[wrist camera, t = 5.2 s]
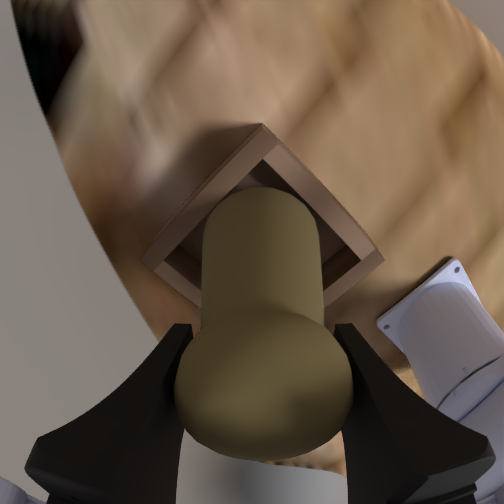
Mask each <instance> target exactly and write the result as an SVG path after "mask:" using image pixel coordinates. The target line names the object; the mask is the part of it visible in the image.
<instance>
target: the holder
mask: <svg viewBox="0 0 504 504" xmlns="http://www.w3.org/2000/svg"><path fill="white" fill-rule="evenodd" d="M251 187H262V188H274V189H277V190H280V191H284V192H287V193H290V194H291V195H292V196H294V197H295V198H297V199H298V200H299V201H301V202H302V203H303V204H305V206H306V207H307V208H308V210H309V211H310V213H311V214H312V216H313V217H314V219H315V222H316V226H317V230H318V234H319V244H320V257H321V270H322V285H323V302H324V308H326V307H327V306H328V305H330V304H331V303H332V302H333V301H335V300H336V299H337V298H339V297H340V296H341V295H343V294H344V293H345V292H346V291H348V290H349V289H350V288H351V287H353V286H354V285H355V284H357V283H358V282H359V281H360V280H362V279H363V278H364V277H365V276H366V275H368V274H369V273H370V272H371V271H373V270H374V269H375V268H376V267H377V266H379V265H380V264H381V263H382V262H384V261H385V259H384V258H383V256H382V255H381V253H380V252H379V250H378V249H377V247H376V246H375V244H374V243H373V242H372V240H371V239H370V237H369V236H368V234H367V233H366V232H365V231H364V230H363V228H362V227H361V226H360V225H359V224H358V223H357V221H356V220H355V219H354V218H353V217H352V216H351V215H350V214H349V212H348V211H347V210H346V209H345V208H344V207H343V206H342V205H341V203H340V202H339V201H338V200H337V199H336V198H335V197H334V196H333V195H332V194H331V192H330V191H329V190H328V189H327V188H326V187H325V186H324V185H323V184H322V183H321V182H320V181H319V180H318V179H317V178H316V176H315V175H314V174H313V173H312V172H311V171H310V170H309V169H308V168H307V167H306V166H305V165H304V164H303V163H302V162H301V161H300V160H299V159H298V158H297V157H296V156H295V155H294V154H293V153H292V152H291V151H290V150H289V149H288V148H287V147H286V146H285V145H284V144H283V143H282V142H281V141H280V140H279V139H278V138H277V137H276V136H275V135H274V134H273V133H272V132H271V131H270V130H269V129H268V128H267V127H266V126H265V125H264V124H263V123H262V124H261V125H260V126H259V127H257V128H256V129H255V130H254V131H253V132H252V133H251V134H250V135H249V136H248V137H247V138H246V139H245V140H244V141H243V142H242V143H241V144H240V145H239V146H238V147H237V148H236V149H235V150H234V151H233V152H232V153H231V154H230V155H229V156H228V157H227V158H226V160H225V161H224V162H223V163H222V164H221V165H220V166H219V167H218V168H217V169H216V170H215V171H214V172H213V173H212V174H211V175H210V176H209V177H208V178H207V179H206V180H205V181H204V183H203V184H202V185H201V186H200V187H199V188H198V189H197V190H196V191H195V192H194V193H193V194H192V195H191V197H190V198H189V199H188V200H187V201H186V202H185V203H184V204H183V205H182V206H181V208H180V209H179V210H178V211H177V212H176V213H175V214H174V215H173V216H172V218H171V219H170V220H169V221H168V222H167V223H166V224H165V225H164V227H163V228H162V229H161V230H160V231H159V232H158V233H157V235H156V236H155V238H154V239H153V241H152V242H151V244H150V245H149V247H148V248H147V250H146V251H145V253H144V254H143V256H142V257H141V259H140V261H141V262H142V263H144V264H145V265H146V266H147V267H148V268H150V269H151V270H152V271H153V272H155V273H156V274H157V275H158V276H160V277H161V278H162V279H163V280H165V281H166V282H167V283H168V284H170V285H171V286H172V287H173V288H175V289H176V290H177V291H178V292H180V293H181V294H182V295H184V296H185V297H186V298H187V299H189V300H190V301H191V302H193V303H194V304H195V305H197V306H198V307H199V308H201V282H202V245H203V232H204V228H205V225H206V221H207V218H208V217H209V215H210V214H211V213H212V211H213V210H214V208H215V207H216V206H217V204H218V203H220V202H221V201H223V200H224V199H225V198H227V197H228V196H230V195H231V194H233V193H235V192H238V191H242V190H245V189H248V188H251Z"/></svg>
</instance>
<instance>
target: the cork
mask: <svg viewBox="0 0 504 504" xmlns="http://www.w3.org/2000/svg"><path fill="white" fill-rule="evenodd" d="M173 389H174V400H175V406H176V409H177V412H178V415H179V418H180V420H181V422H182V424H183V425H184V427H185V429H186V431H187V432H188V433H189V434H190V435H191V436H192V437H193V438H194V439H195V440H196V441H197V442H199V443H200V444H202V445H204V446H206V447H208V448H210V449H211V450H213V451H215V452H217V453H219V454H223V455H226V456H229V457H233V458H237V459H244V460H252V461H273V460H280V459H287V458H292V457H296V456H299V455H302V454H305V453H308V452H310V451H312V450H314V449H316V448H318V447H320V446H322V445H323V444H325V443H327V442H328V441H330V440H331V439H332V438H333V437H334V436H335V435H336V434H337V433H338V432H339V431H341V429H342V427H343V425H344V422H345V420H346V418H347V416H348V414H349V411H350V409H351V407H352V404H353V395H354V384H353V378H352V372H351V368H350V365H349V361H348V358H347V355H346V354H345V352H344V351H343V349H342V348H341V346H340V345H339V343H338V342H337V341H336V339H335V338H334V337H333V336H332V334H331V333H330V332H329V331H328V329H327V328H326V327H325V321H324V302H323V285H322V270H321V257H320V244H319V234H318V230H317V226H316V222H315V219H314V217H313V216H312V214H311V213H310V211H309V210H308V208H307V207H306V206H305V204H303V203H302V202H301V201H299V200H298V199H297V198H295V197H294V196H292V195H291V194H290V193H287V192H284V191H280V190H277V189H274V188H262V187H251V188H248V189H245V190H242V191H238V192H235V193H233V194H231V195H230V196H228V197H227V198H225V199H224V200H223V201H221V202H220V203H218V204H217V206H216V207H215V208H214V210H213V211H212V213H211V214H210V215H209V217H208V218H207V221H206V225H205V228H204V232H203V245H202V282H201V330H200V332H199V333H198V334H197V335H196V336H195V337H194V338H193V340H192V341H191V342H190V343H189V345H188V346H187V348H186V349H185V351H184V353H183V354H182V356H181V359H180V363H179V367H178V371H177V375H176V379H175V383H174V387H173Z"/></svg>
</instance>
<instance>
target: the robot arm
mask: <svg viewBox="0 0 504 504" xmlns="http://www.w3.org/2000/svg"><path fill="white" fill-rule="evenodd" d="M456 267H457V269H456V270H455V268H456ZM376 324H377V326H378V328H379V329H380V330H381V331H382V332H383V333H384V334H385V335H386V336H387V337H388V338H389V339H390V340H391V341H392V342H393V343H394V344H395V345H396V346H397V347H398V348H399V349H400V350H401V351H402V352H403V353H404V354H405V355H406V357H407V359H408V361H409V363H410V366H411V368H412V370H413V373H414V375H415V377H416V380H417V382H418V384H419V387H420V389H421V392H422V394H423V396H424V399H425V400H424V399H422V398H421V397H420V396H418V395H417V394H416V393H415V392H414V391H413V390H411V389H410V388H409V387H408V386H407V385H406V384H405V383H404V382H403V381H402V380H400V379H399V377H398V376H397V375H396V374H395V373H394V372H393V371H392V370H391V369H390V368H389V367H388V366H387V365H386V364H385V363H384V362H383V360H382V359H381V358H380V357H379V356H378V355H377V354H376V352H375V351H374V350H373V349H372V348H371V346H370V345H369V344H368V343H367V341H366V340H365V339H364V338H363V336H362V335H361V334H360V333H359V331H358V330H357V329H356V328H355V326H354V325H353V324H352V323H348V324H335V330H334V335H333V337H334V338H335V339H336V341H337V342H338V343H339V345H340V346H341V348H342V349H343V351H344V352H345V354H346V355H347V358H348V361H349V365H350V368H351V372H352V378H353V384H354V395H353V404H352V407H351V409H350V411H349V414H348V416H347V418H346V420H345V422H344V425H343V427H342V429H341V432H342V436H343V442H344V449H345V459H346V470H347V485H348V504H504V333H503V332H502V331H501V329H500V328H499V327H498V325H497V324H496V323H495V321H494V320H493V319H492V317H491V316H490V315H489V314H488V312H487V311H486V310H485V308H484V307H483V306H482V304H481V302H480V300H479V298H478V296H477V294H476V292H475V290H474V288H473V286H472V284H471V282H470V280H469V278H468V276H467V274H466V272H465V271H464V269H463V267H462V265H461V263H460V262H459V260H458V259H457V258H452V259H450V260H449V261H448V262H447V263H446V264H444V265H443V266H442V267H441V268H440V269H439V270H438V271H436V272H435V273H434V274H433V275H432V276H431V277H429V278H428V279H427V280H426V281H425V282H423V283H422V284H421V285H420V286H419V287H417V288H416V289H415V290H414V291H413V292H411V293H410V294H409V295H408V296H406V297H405V298H404V299H403V300H401V301H400V302H399V303H398V304H396V305H395V306H394V307H392V308H391V309H390V310H388V311H387V312H386V313H385V314H383V315H382V316H381V317H379V318H378V319H377V321H376ZM385 325H387V326H385ZM192 340H193V332H192V326H191V324H177V323H175V324H174V325H173V326H172V327H171V328H170V330H169V331H168V332H167V333H166V335H165V336H164V337H163V339H162V340H161V341H160V342H159V344H158V345H157V346H156V347H155V349H154V350H153V351H152V352H151V353H150V355H149V356H148V357H147V358H146V359H145V360H144V361H143V363H142V364H141V365H140V366H139V367H138V368H137V369H136V370H135V371H134V372H133V373H132V374H131V375H130V376H129V377H128V378H127V379H126V380H125V381H124V382H123V383H122V384H121V385H120V386H119V387H118V388H117V389H116V390H115V391H113V392H112V393H111V394H110V395H109V396H107V397H106V398H105V399H104V400H102V401H101V402H100V403H98V404H97V405H96V406H95V407H93V408H91V409H90V410H89V411H87V412H86V413H84V414H83V415H81V416H79V417H78V418H76V419H75V420H73V421H71V422H69V423H67V424H66V425H64V426H62V427H60V428H58V429H56V430H54V431H51V432H49V433H47V434H45V435H43V436H40V437H38V438H37V440H36V442H35V444H34V446H33V448H32V451H31V453H30V455H29V458H28V460H27V462H26V465H25V468H24V469H25V471H26V473H27V474H28V476H29V477H31V479H33V480H34V481H35V482H36V483H37V484H38V485H40V486H41V487H42V488H43V489H45V490H46V491H47V492H48V493H50V494H49V497H48V500H47V503H46V502H43V501H41V500H39V499H36V498H34V497H32V496H30V495H28V494H27V493H26V492H25V491H24V490H22V489H21V488H19V487H18V486H17V485H15V484H13V483H12V482H10V481H8V480H6V479H4V478H2V477H0V504H176V488H177V477H178V466H179V458H180V449H181V443H182V437H183V433H184V429H185V427H184V425H183V424H182V422H181V420H180V418H179V415H178V412H177V409H176V406H175V400H174V389H173V387H174V383H175V379H176V375H177V371H178V367H179V363H180V359H181V356H182V354H183V353H184V351H185V349H186V348H187V346H188V345H189V343H190V342H191V341H192Z"/></svg>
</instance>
